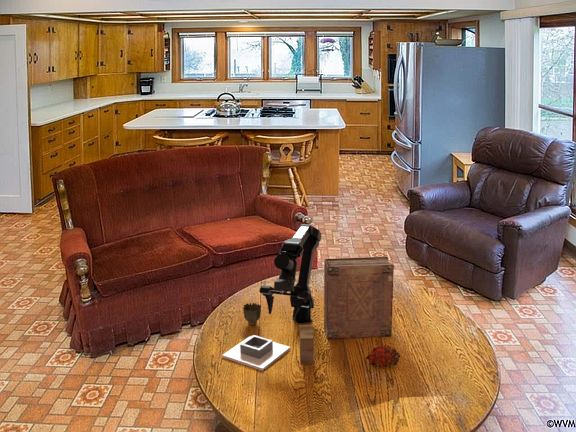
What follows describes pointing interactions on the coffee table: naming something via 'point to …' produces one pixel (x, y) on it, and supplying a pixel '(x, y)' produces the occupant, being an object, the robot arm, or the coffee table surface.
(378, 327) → the book
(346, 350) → the coffee table surface
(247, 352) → the plate
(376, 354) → the dragon fruit
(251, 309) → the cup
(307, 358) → the walnut post
